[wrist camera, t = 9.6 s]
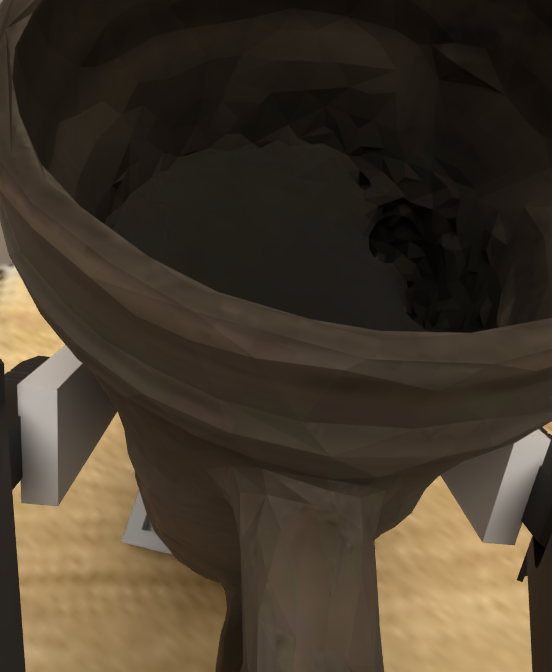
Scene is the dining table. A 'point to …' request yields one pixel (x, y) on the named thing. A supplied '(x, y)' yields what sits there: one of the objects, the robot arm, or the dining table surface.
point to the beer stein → (289, 270)
